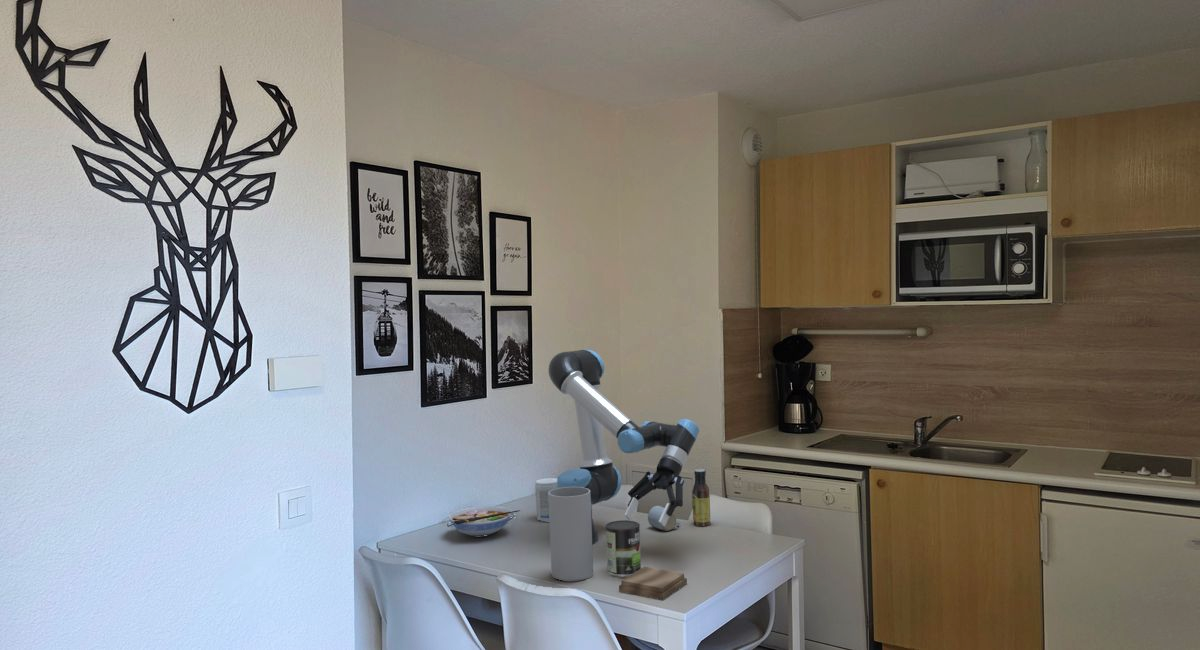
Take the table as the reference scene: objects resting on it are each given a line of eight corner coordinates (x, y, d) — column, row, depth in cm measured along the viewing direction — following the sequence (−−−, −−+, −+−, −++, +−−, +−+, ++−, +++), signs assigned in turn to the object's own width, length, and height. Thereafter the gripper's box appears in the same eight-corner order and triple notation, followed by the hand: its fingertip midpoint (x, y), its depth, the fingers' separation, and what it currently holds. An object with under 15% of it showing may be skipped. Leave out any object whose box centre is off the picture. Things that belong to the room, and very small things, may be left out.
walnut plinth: (619, 591, 219) (618, 580, 219) (644, 576, 231) (643, 565, 231) (663, 600, 212) (662, 589, 212) (686, 583, 223) (686, 573, 223)
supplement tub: (567, 518, 298) (565, 479, 297) (548, 524, 291) (546, 484, 291) (550, 514, 304) (549, 476, 304) (531, 519, 298) (530, 481, 298)
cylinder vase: (596, 568, 239) (593, 486, 239) (589, 582, 227) (586, 496, 226) (556, 567, 241) (553, 486, 241) (547, 581, 229) (543, 496, 229)
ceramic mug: (662, 533, 273) (662, 511, 273) (647, 528, 280) (647, 507, 280) (685, 528, 280) (684, 506, 280) (670, 523, 286) (669, 502, 286)
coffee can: (647, 568, 238) (645, 522, 237) (630, 579, 229) (628, 531, 229) (618, 563, 243) (616, 518, 243) (600, 573, 234) (598, 527, 234)
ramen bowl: (499, 521, 297) (498, 499, 297) (527, 534, 278) (526, 511, 278) (436, 533, 283) (435, 511, 283) (461, 548, 264) (460, 524, 264)
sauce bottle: (694, 521, 287) (692, 467, 286) (711, 522, 285) (710, 468, 284) (691, 526, 280) (689, 471, 280) (709, 527, 278) (707, 471, 278)
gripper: (709, 473, 245) (682, 533, 234) (647, 465, 262) (619, 521, 251) (698, 460, 241) (670, 520, 230) (636, 452, 258) (607, 508, 247)
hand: (644, 520), depth 241 cm, fingers open, 13 cm apart
